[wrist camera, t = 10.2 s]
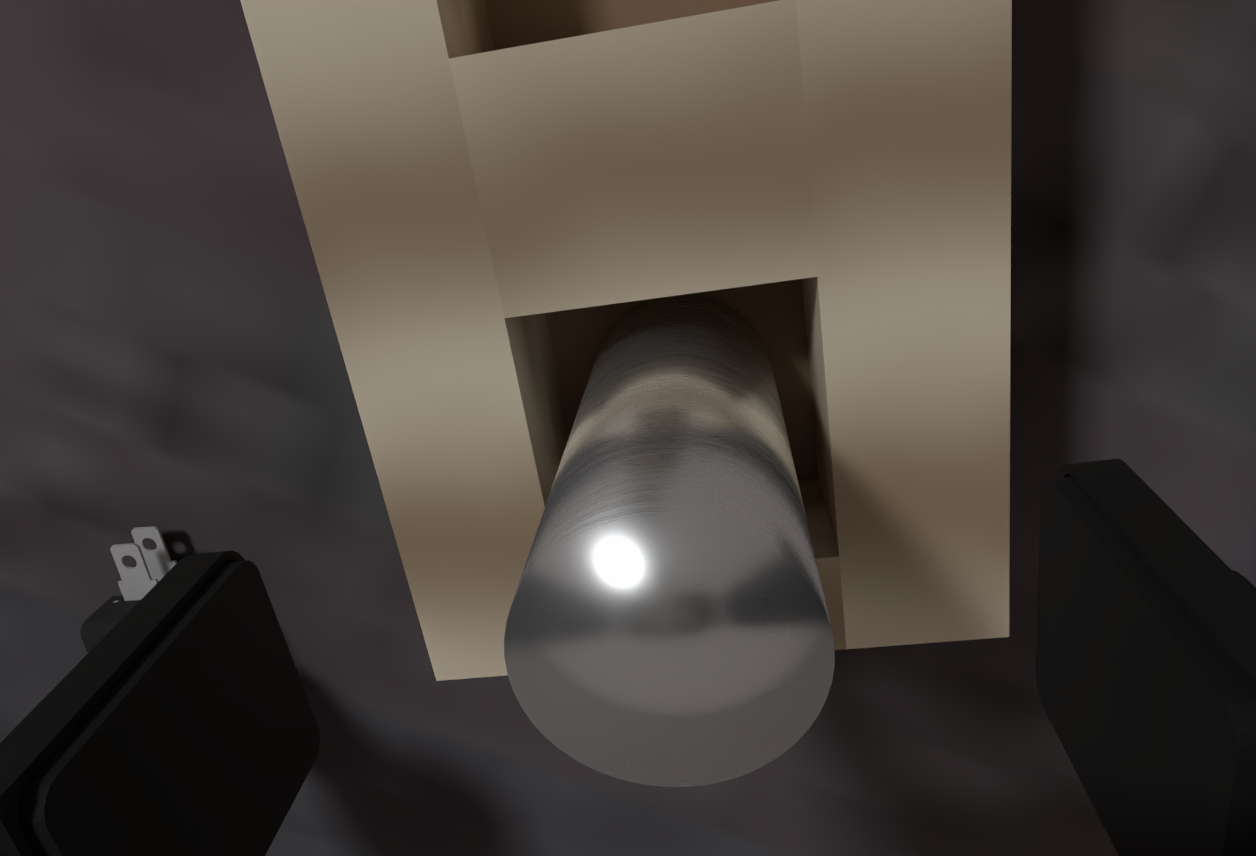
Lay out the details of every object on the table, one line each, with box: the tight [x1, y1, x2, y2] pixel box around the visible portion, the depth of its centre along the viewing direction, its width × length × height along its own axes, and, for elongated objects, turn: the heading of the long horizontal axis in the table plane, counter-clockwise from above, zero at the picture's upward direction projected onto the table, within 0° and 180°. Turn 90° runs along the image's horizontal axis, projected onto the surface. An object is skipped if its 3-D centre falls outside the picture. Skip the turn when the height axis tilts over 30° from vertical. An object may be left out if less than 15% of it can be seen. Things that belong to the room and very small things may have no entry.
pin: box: [504, 294, 835, 787], centre depth 15 cm, size 4×4×10 cm
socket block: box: [240, 0, 1012, 681], centre depth 17 cm, size 20×12×5 cm, turn 9°
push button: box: [81, 526, 177, 653], centre depth 21 cm, size 7×5×10 cm
